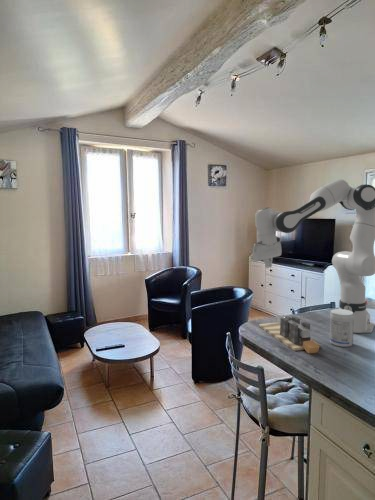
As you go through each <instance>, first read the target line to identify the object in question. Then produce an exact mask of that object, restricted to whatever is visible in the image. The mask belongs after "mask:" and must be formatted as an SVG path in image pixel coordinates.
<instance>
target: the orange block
mask: <svg viewBox="0 0 375 500" xmlns="http://www.w3.org/2000/svg"><path fill="white" fill-rule="evenodd" d="M314 341H315V340H314V339H311V340H310V341H303V346H302V347H303V348H304V350H305V352H306V353H308V355H309V354H317V353H319V349H320V348H319V346H318V345H317V344H316V343H315V342H316V341H315V342H314Z"/></svg>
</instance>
